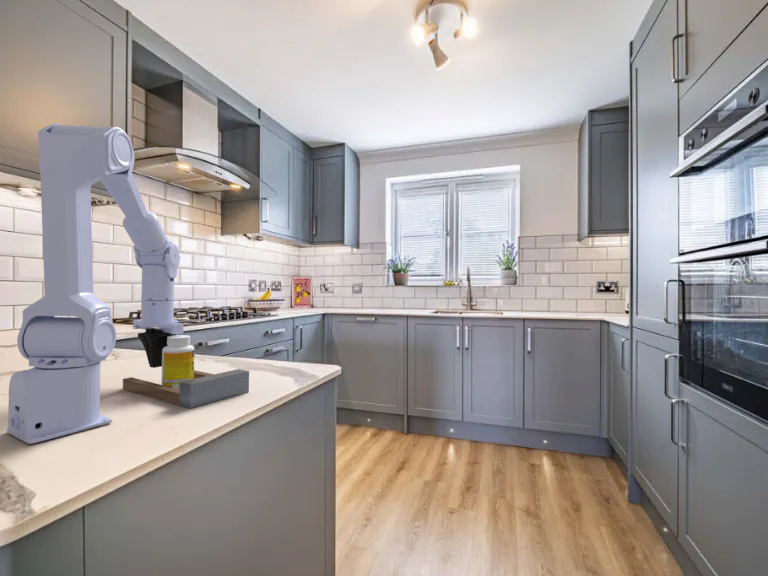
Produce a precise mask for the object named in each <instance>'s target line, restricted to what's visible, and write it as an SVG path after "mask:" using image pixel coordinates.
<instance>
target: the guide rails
mask: <svg viewBox="0 0 768 576" xmlns="http://www.w3.org/2000/svg"><path fill="white" fill-rule="evenodd" d="M214 374H215V373H214ZM214 374H213V373H210V372H205V371H199V370H195V369H194V379H195V378H200V377H204V376H209V375H214ZM122 390H125V391H128V392H131V393H135V394H139V395H141V396H145V397H148V398H151V399H156V400H158V401H162V402H166V403H168V404H169V403H170V404H173V405H176V406H179V397H180V390H179V389H176V388H172V387H168V386H164V385H162V384H159V383H155V382H151V381H148V380H143V379H139V378H136V377H133V376H130V377H124V378H122Z"/></svg>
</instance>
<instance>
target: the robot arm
mask: <svg viewBox="0 0 768 576" xmlns="http://www.w3.org/2000/svg"><path fill="white" fill-rule="evenodd" d="M37 134H38V135H37V136H38V139H37V141H38V161H39V162H38V163H39V167H38V168H39V173H40V196H41V197H40V199H41V200H40V201H41V204H40V205H41V225H42V227H41V229H42V232H41V233H42V253H43V254H42V257H43V258H42V259H43V281H44V282H43V285H44V296H41V298H39V299H38V300H36V301H35V302H33V303H32V304H30V305H28V306H27V307H26V308H24V309H23V310H22V322H21V325H20V326H21V327H20V329H19V332H18V334H17V338H16V339H17V341H16V343H17V344H16V345H17V348H18V351H19V353H20V354H21V356H22V357H23V358H24V359H26V360H28V366H29V367H32V368H29V369H25V370H18V371H15V372H14V373H13V374H12V375H11V376H10V380H9V386H8V413H7V415H8V420H7V421H8V422H7V423H8V424H7V426H8V427H7V428H6V429H5V431H6V433H8V434H10V435H11V436H12V437H15V438H17V439H18V440H21V441H23V442H25V444H27V445H31V444H33V445H34V444H36V443H40V442H43V441H48V440H51V439H55V438H58V437H63V436H66V435H67V436H68V435H69V434H74V433H77V432H81V431H84V430H89V429H93V428H96V427H100V426H104V425H107V424H111V423H112V422H113V418H111V417H108V416H107V415H106V416H105V415H102V414H100V410H101V409H100V405H101V403H100V402H101V362H106V360H107V358H108V357H109V356H110V354H112V352H113V350H114V348H115V345H116V342H117V331H116V327H115V325H114V323H113V318H112V308H111V307H110V306H109V305H108V304H107V303H106V302H104V301H102V299H100V298H98V297H97V296H96V295H95V294H94V273H93V272H94V269H93V268H94V267H93V238H92V237H93V234H92V232H93V231H92V196H91V195H92V194H91V191H92V190H91V188H92V186H93V185H94V184H95V183H97V182H100V183H102V185H103V186H104V187H105V189H106V190H107V192H108V193H109V195H110V196H111V197H112V199H113V201H114V202H115V203H116V204H117V206H118V208H119V209H120V211H121V212H122V213H123V215H124V216H125V217H124V218H123V219H122V226H123V228H124V230H125V231H126V233H127V235H128V237H129V238H130V240H131V242H132V243H133V246H132V247H133V251H134V258H135V262H136V265H138V267H139V268H140V269H141V304H140V306H141V307H140V319H133V321H132V329H133V330H144V332H139V333H138V332H137V337H138V339H139V340H140V342H141V344H142V345H143V349H144V351H145V354H146V358H147V361H148V365H149V368H153V369H154V368H160V367H161V368H162V349H163V348H164V347H166V346H168V345H167V337H169V336H175V335H183V334H184V325H185V324H184V323H183V322H182V323H181V322H179V320H176V319H174V316H175V315H174V309H175V308H174V303H175V300H174V299H175V279H176V278H177V276H178V270H179V269H178V268H179V266H180V262H181V254H180V250H179V247H178V246H177V245H176V244H175V243H173V242H172V241H169V239H168V237H167V235H166V233H165V231H164V229H163V226H162V225H161V223H160V221H159V218H158V217H157V215H156V213H154V212H153V211H152V210H148V209H147V208H146V205H145V203H144V200H143V198H142V195H141V192H140V190H139V187H138V185H137V184H138V183H137V182H136V179H135V177H134V174H133V169H134V167H135V166H134V165H135V151H134V147H133V143H132V141H131V139H130V137H129V136H128V134H127V133H126V132H125V131H124V130H123V129H122V128H120V127H118V126H114V125H113V126H107V127H106V126H91V125H90V126H87V125H86V126H85V125H71V124H70V125H69V124H68V125H66V124H65V125H64V124H60V123H51V124H49V125H47V126H45V127H43V128H41V129H39V130H38V132H37Z"/></svg>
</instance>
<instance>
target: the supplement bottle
mask: <svg viewBox="0 0 768 576" xmlns="http://www.w3.org/2000/svg"><path fill="white" fill-rule="evenodd" d="M167 345H168V346H166V347H164V348H163V349H162V366H161V385H164V386H168V387H172V388H176V389H179V390H180V382H181V381H186V380H191V379H194V370H195V346H193V345H192V344H191V335H187V334H176V335H175V336H169V337H167Z"/></svg>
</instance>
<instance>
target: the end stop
mask: <svg viewBox="0 0 768 576" xmlns="http://www.w3.org/2000/svg"><path fill="white" fill-rule="evenodd" d="M249 392H250V371H249V370H246V369H239V368H238V369H237V368H236V369H233V370H228V371H223V372H218V373H214V375H209V376H204V377H200V378H195V379H191V380H186V381H181V382H180V397H179V405H178V406H179V407H183V408H186V409H194V408H196V407H197V408H198V407H201V406H204V405H208V404H211V403H215V402H219V401H222V400H226V399H229V398H232V397H237V396H239V395H242V394H246V393H249Z"/></svg>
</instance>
